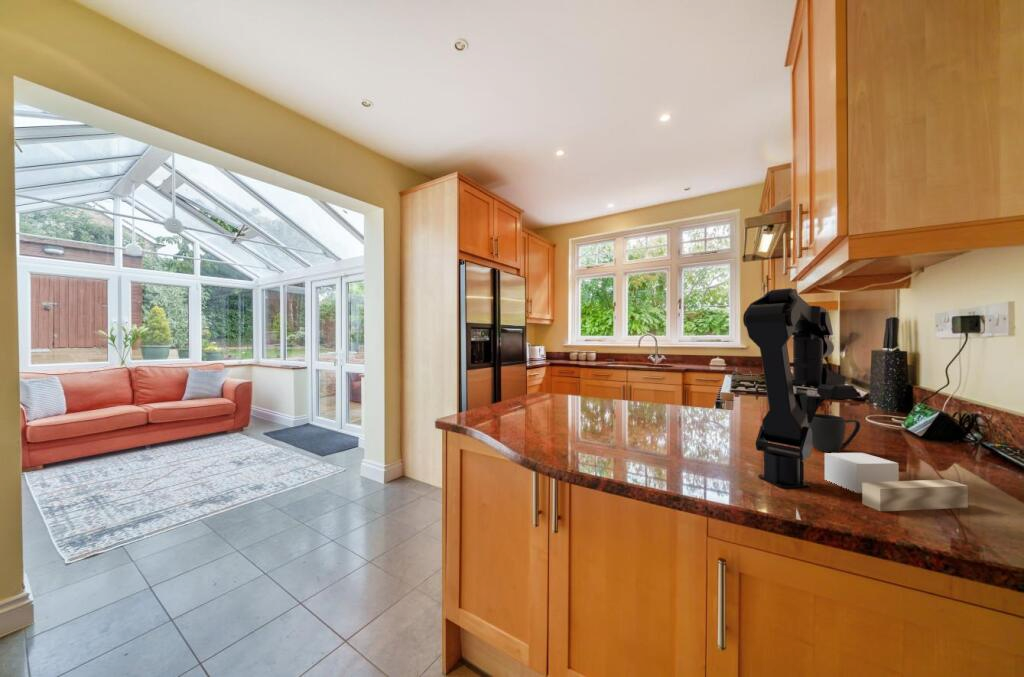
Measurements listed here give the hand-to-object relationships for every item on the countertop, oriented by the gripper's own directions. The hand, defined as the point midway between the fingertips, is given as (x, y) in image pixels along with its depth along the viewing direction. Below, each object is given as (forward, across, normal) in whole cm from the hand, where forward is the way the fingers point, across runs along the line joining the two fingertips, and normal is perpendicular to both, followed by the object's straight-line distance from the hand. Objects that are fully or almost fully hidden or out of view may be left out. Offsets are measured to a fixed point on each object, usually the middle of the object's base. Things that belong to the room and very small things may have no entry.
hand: (807, 422), depth 88 cm
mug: (+11, +11, -19) cm, 25 cm away
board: (+11, -21, 0) cm, 24 cm away
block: (+11, -12, 0) cm, 16 cm away
